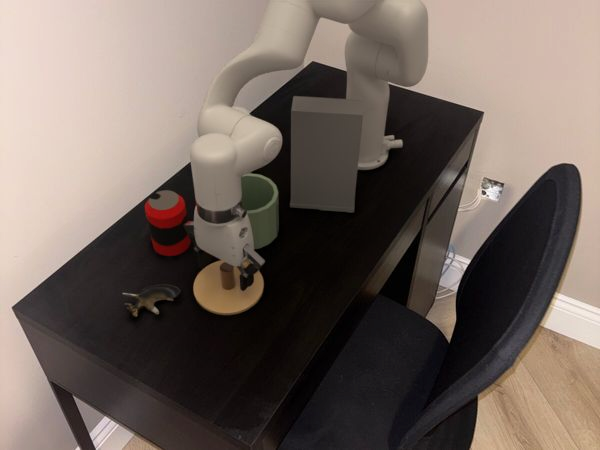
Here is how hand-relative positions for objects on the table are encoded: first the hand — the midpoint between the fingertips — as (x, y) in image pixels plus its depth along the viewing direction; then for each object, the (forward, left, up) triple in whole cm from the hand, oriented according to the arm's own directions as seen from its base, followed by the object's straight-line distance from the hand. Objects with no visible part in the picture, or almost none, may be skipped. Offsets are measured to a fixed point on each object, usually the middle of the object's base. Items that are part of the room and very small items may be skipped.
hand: (226, 274), depth 111 cm
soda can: (+10, -14, -5) cm, 18 cm away
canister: (-6, -15, -5) cm, 17 cm away
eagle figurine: (+14, +2, -5) cm, 15 cm away
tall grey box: (-23, -21, -5) cm, 32 cm away
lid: (0, 0, -4) cm, 4 cm away
